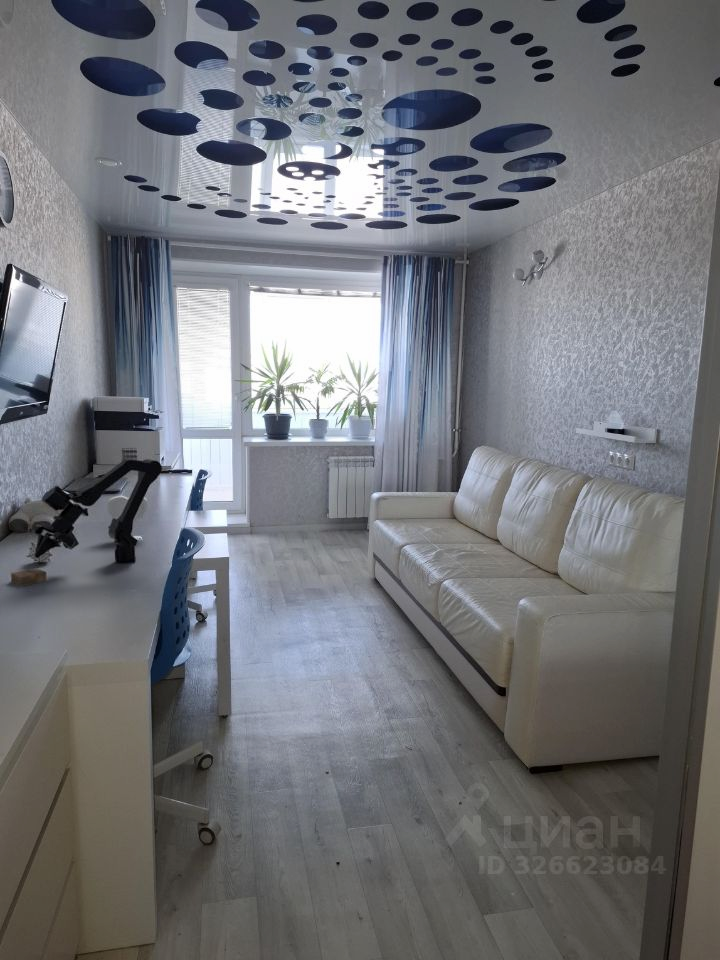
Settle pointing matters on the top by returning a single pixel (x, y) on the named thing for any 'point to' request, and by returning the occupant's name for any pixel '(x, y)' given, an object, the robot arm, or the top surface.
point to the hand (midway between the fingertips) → (36, 557)
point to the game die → (42, 557)
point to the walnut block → (28, 576)
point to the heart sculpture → (118, 505)
